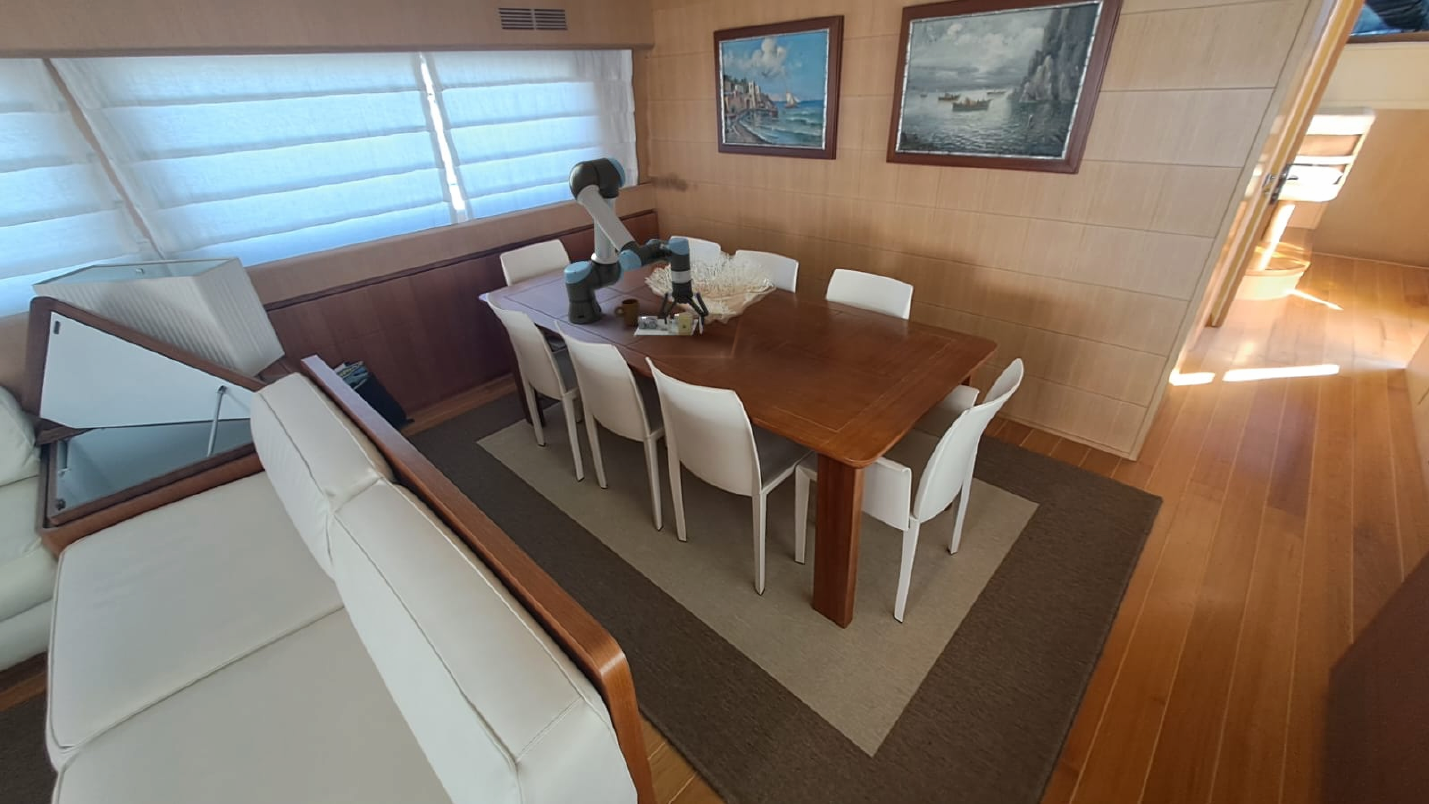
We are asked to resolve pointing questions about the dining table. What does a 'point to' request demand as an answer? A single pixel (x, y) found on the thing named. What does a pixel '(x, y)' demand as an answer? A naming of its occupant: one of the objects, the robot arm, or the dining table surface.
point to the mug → (629, 311)
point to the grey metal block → (683, 313)
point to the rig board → (662, 329)
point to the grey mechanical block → (647, 322)
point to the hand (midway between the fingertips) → (685, 332)
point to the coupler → (685, 324)
